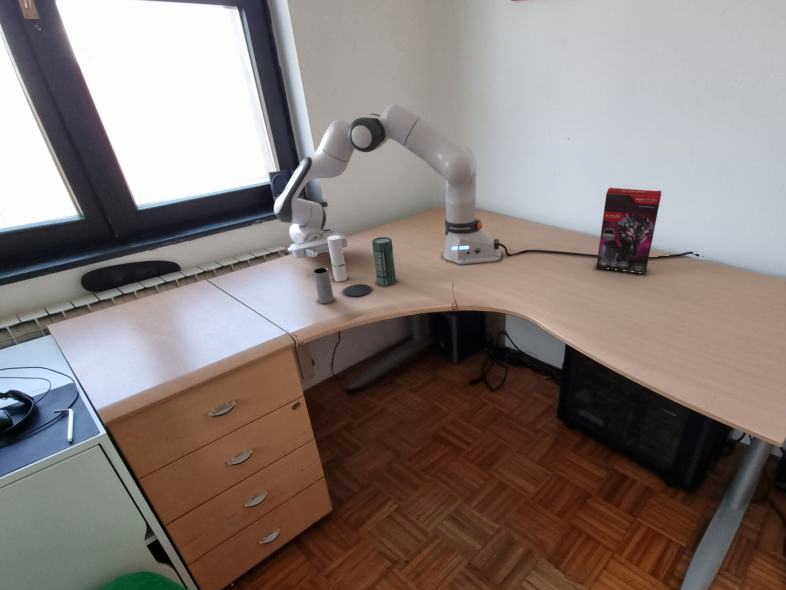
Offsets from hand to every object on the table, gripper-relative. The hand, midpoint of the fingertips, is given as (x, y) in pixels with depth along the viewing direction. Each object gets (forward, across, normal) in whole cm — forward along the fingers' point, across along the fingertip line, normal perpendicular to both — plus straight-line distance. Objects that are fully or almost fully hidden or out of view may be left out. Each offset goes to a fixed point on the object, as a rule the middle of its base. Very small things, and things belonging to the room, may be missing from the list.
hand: (328, 251), depth 162 cm
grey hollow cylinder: (+21, -11, +8) cm, 25 cm away
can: (+21, +11, +8) cm, 25 cm away
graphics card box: (+65, +81, +8) cm, 105 cm away
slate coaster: (+21, 0, +8) cm, 22 cm away
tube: (+8, 0, +8) cm, 11 cm away
